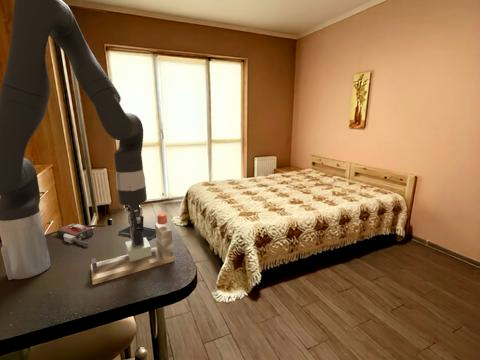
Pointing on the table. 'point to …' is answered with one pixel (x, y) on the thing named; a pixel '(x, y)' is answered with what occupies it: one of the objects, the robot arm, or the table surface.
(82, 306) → the table surface
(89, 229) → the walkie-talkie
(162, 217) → the button
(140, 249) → the block
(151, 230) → the phone
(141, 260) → the rail base
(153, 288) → the table surface
